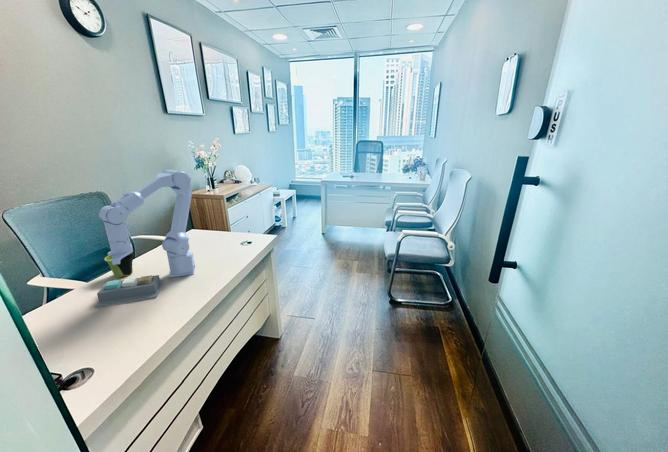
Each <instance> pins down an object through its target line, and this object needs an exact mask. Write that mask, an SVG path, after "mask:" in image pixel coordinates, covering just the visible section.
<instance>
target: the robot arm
mask: <svg viewBox="0 0 668 452" xmlns="http://www.w3.org/2000/svg"><path fill="white" fill-rule="evenodd" d="M191 180H192V178H191V177H190V176H189V174H188V173H187V172H186V171H184V170H174V169H170V168H167V169H164V170H163V171H161V172H158V173H157V174H156V176H155V177H153V178H152V179H151V180H149V181H148V182H147V183H146V184H144V185H143V186H142V187H141V188H139V189H137V191H128V192H127V191H126V192H124V193H122V194H123V195H122V196H121V197H120V198H118V199H117V200H115V201H112V202H110V205H105V206H103V207H101V209H100V210H99V213H98V215H97V217H98V218H99V220H100V221H102V222H103V224H104V230H105V233H106V236H107V239H108V244H109V248H110V251H108V252H107V256H109V255H112V260H111V261H112V264H113V265H117V266H118V267H119V268H120V270H121V271H122V273H123V274H124V275H128V276H131V275H132V274H133V272H132V269H133V260H134V257H135V252H134V248H133V245H132V243H131V239H130V235H129V231H128V227H127V223H126V222H127V220H128V217H129V215H130V214H131V213H133V212H134V211H135V210H137V209H138V208H140V207H141V206H143V205H144V204H145V199H146V198H147V197H150V196H151V195H153V194H154V193H155V192H157V191H158V190H160V189H162V188H167V187H168V188H169V187H170V188H171V190H172V191H174V193H176V198H175V202H174V209H173V214H172V221H171V225H170V227H171V228H170V231H168V232H166V234H165V238H164V239H163V240H162V243H161V245H162V246H161V248H162V249H163V251H165V252H166V255H167V261H168V266H169V270H170V271H169V274H168V276H167V277H168V278H170V279H171V278H176V277H177V278H178V277H185V276H191V275H194V274H195V270H196V264H195V258H194V253H193V251H189V250H190V243H189V239H190V238H189V237H188V235H187V233H186V231H187V227H188V226H187V225H188V220H189V213H190V208H191V203H192V199H193V198H192V197H193V189H192V184H191V183H192V182H191ZM131 273H132V274H131Z"/></svg>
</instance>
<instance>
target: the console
mask: <svg viewBox="0 0 668 452" xmlns="http://www.w3.org/2000/svg"><path fill="white" fill-rule="evenodd" d="M136 278H137V284H136V286H130V287H122V282H123V281H124V280H125V279H122V280H121V279H120V280H121V286H120V287H119V288H116V289H109V290H105V285H106V284H107V282H108V281H106V282H105V283H104V284H103V286H102V287H101V288H100V289H99V290H98V291H97V293H96V295H97V298H98V301H97V302H96V304H95V305H94V308H96V309H97V308H102V307H109V306H114V305H115V306H116V305H120V304H126V303H127V304H128V303H133V302H139V301H144V300H150V299H156V298H157V297H158V295H159V292H160V291H161V288H162V285H163V284H164V279H161V278H160V275H159V274H157V275H152V278H153V281H152V283H150V284H143V285H139V283H138V281H139V279H140V277H136Z"/></svg>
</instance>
